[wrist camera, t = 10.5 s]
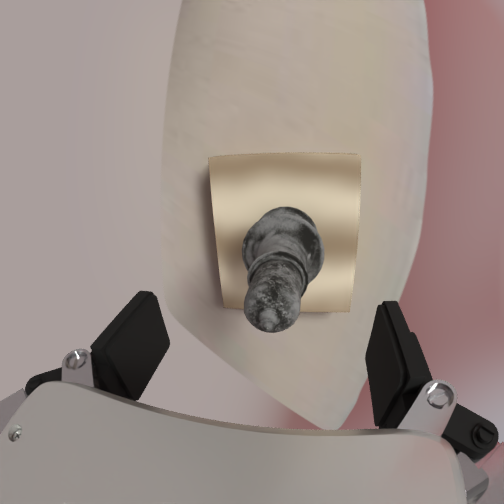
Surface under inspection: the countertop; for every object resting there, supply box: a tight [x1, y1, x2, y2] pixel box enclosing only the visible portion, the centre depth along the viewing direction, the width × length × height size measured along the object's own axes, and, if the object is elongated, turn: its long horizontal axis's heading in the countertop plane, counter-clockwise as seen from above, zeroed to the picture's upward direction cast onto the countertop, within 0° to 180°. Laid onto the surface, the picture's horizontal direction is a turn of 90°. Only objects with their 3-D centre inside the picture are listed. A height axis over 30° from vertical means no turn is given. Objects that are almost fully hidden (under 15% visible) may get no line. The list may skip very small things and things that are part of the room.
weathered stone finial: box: [242, 207, 324, 333], centre depth 17 cm, size 6×6×12 cm
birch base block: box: [208, 153, 361, 312], centre depth 24 cm, size 14×12×3 cm
